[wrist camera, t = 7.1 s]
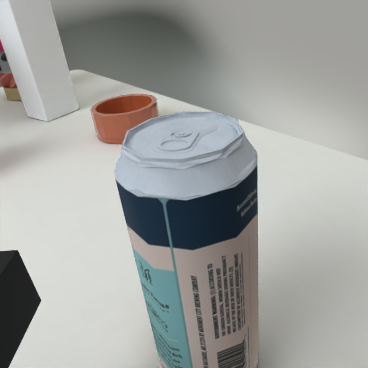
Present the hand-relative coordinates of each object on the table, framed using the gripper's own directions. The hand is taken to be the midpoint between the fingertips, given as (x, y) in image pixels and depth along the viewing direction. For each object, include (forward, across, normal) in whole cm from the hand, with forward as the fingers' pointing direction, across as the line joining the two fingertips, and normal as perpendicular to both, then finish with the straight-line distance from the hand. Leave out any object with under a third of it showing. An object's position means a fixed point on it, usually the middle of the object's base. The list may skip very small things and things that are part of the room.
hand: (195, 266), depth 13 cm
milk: (+44, -24, -7) cm, 50 cm away
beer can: (+1, 0, -7) cm, 7 cm away
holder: (+33, -10, -7) cm, 35 cm away
